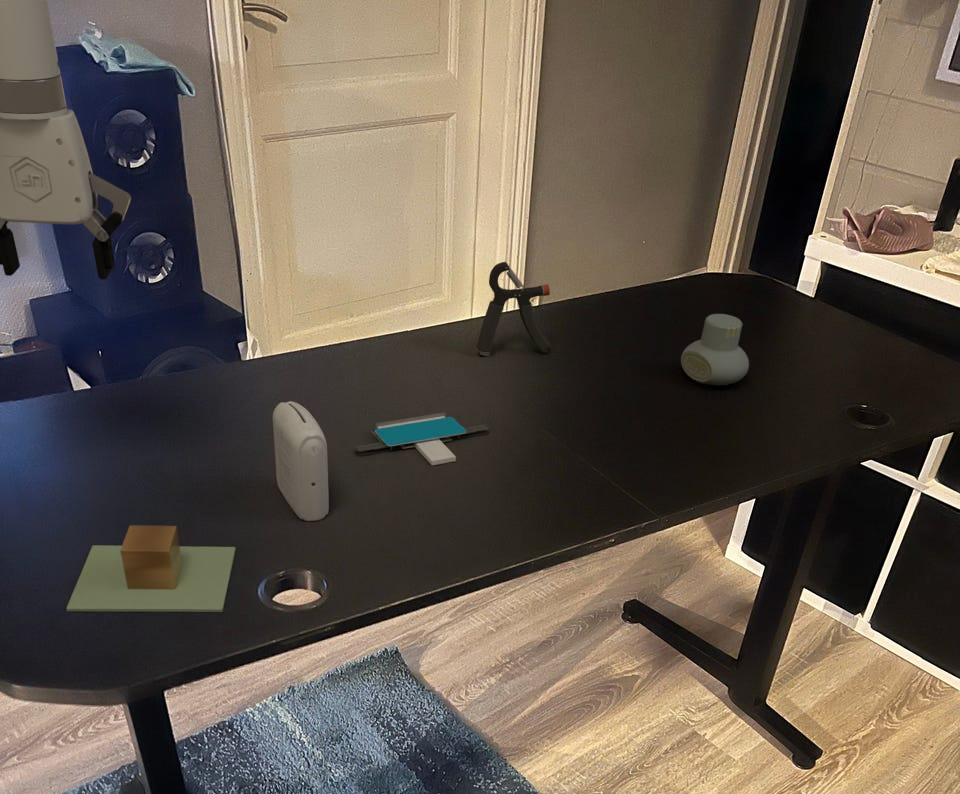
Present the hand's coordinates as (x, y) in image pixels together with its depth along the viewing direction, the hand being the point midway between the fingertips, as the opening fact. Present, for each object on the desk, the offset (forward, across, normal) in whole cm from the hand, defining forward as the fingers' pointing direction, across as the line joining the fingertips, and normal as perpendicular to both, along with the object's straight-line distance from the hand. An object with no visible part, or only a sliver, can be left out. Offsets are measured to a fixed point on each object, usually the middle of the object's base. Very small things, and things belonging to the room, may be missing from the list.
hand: (59, 273), depth 105 cm
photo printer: (+26, +25, -3) cm, 37 cm away
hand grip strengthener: (+26, +57, +46) cm, 78 cm away
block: (+26, +10, -20) cm, 34 cm away
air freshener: (+26, +89, +38) cm, 100 cm away
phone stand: (+26, +41, +13) cm, 51 cm away
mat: (+26, +10, -20) cm, 35 cm away
